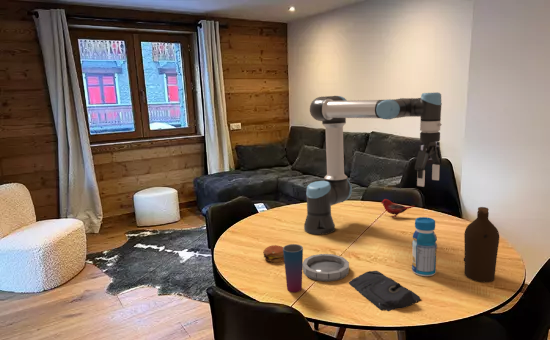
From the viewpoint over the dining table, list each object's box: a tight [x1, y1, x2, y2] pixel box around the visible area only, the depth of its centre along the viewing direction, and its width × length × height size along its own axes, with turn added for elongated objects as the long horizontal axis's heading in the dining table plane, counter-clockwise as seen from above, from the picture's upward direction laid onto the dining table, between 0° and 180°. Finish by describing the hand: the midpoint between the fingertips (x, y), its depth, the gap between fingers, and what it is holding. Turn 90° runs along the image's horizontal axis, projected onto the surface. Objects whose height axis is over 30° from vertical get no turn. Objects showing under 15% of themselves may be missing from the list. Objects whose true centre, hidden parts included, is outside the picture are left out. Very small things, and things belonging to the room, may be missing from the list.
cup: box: [282, 243, 304, 293], centre depth 129 cm, size 7×7×15 cm
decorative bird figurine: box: [380, 198, 416, 218], centre depth 199 cm, size 3×18×10 cm, turn 82°
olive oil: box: [463, 206, 500, 283], centre depth 131 cm, size 11×11×25 cm
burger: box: [262, 244, 284, 264], centre depth 156 cm, size 10×9×5 cm
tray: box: [302, 253, 350, 282], centre depth 142 cm, size 17×17×3 cm
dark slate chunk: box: [348, 270, 422, 312], centre depth 125 cm, size 15×22×5 cm
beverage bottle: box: [411, 216, 438, 277], centre depth 136 cm, size 8×8×20 cm
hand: (428, 182), depth 156 cm, fingers open, 13 cm apart
